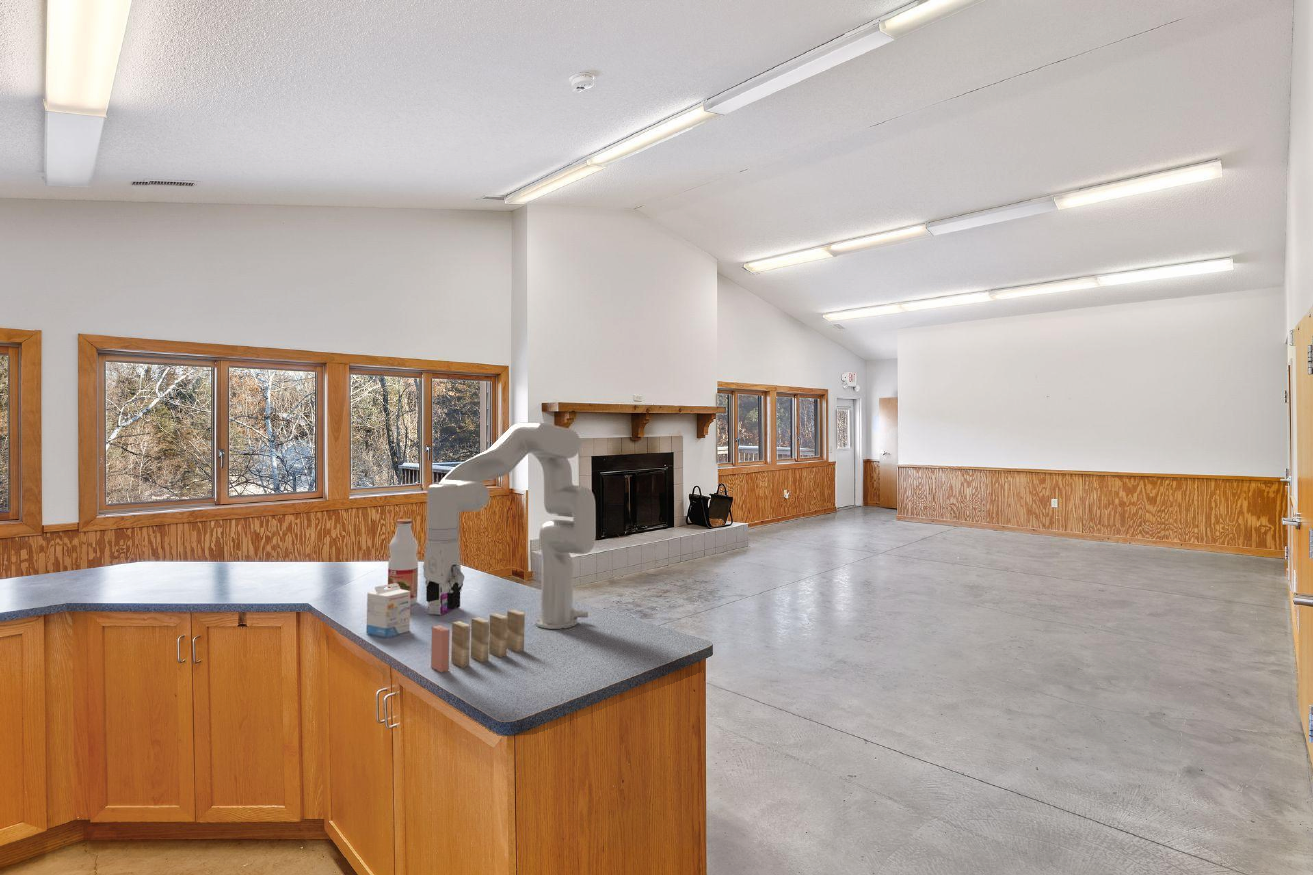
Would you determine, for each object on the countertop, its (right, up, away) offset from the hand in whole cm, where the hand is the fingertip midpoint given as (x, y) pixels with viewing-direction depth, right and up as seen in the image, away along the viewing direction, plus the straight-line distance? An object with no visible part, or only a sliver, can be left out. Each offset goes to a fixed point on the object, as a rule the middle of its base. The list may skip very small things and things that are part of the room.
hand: (443, 604), depth 164 cm
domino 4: (+11, -16, +12) cm, 22 cm away
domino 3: (+7, -16, +8) cm, 19 cm away
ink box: (-25, -15, +29) cm, 41 cm away
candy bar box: (-17, -15, +53) cm, 58 cm away
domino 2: (+3, -16, +4) cm, 16 cm away
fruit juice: (-33, -15, +61) cm, 71 cm away
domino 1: (-1, -16, 0) cm, 16 cm away
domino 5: (+14, -16, +16) cm, 27 cm away
